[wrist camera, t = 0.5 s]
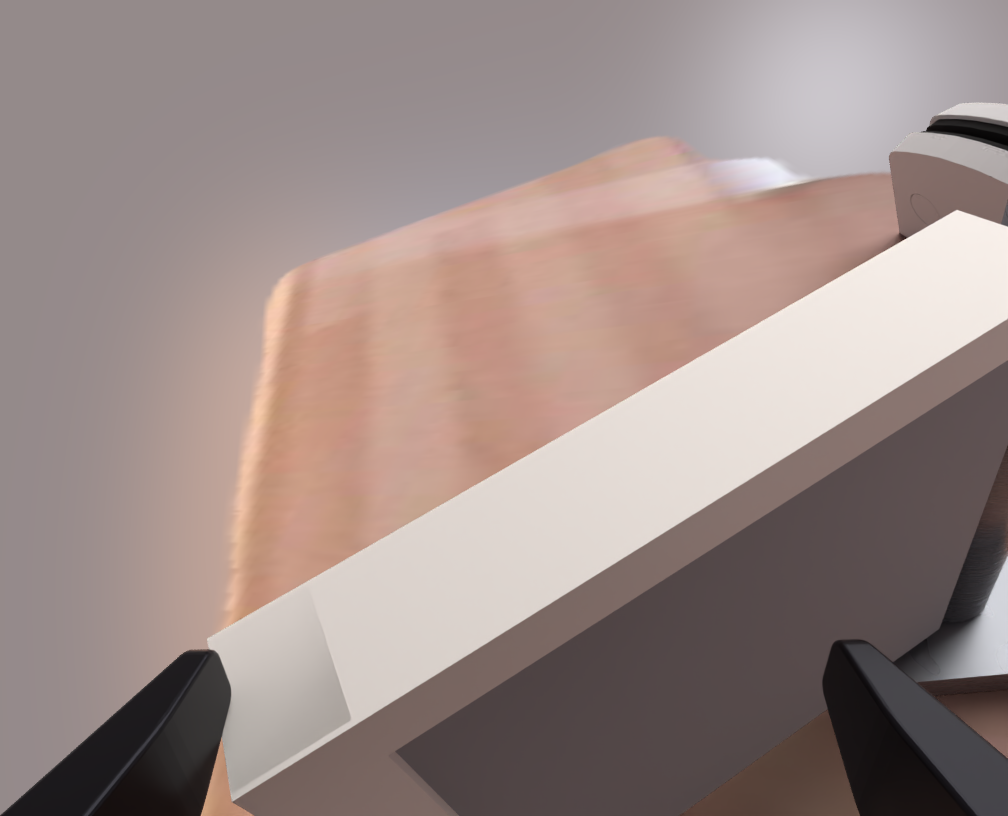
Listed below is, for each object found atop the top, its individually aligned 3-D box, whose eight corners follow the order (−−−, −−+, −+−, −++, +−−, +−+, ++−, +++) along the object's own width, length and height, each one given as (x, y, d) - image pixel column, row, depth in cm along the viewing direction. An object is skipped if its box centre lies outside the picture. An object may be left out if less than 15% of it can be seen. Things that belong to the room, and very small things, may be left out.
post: (1084, 682, 21) (1418, 241, 10) (880, 700, 22) (994, 317, 12) (987, 527, 25) (1151, 104, 15) (821, 548, 26) (863, 168, 16)
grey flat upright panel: (876, 576, 23) (957, 210, 14) (950, 638, 21) (1103, 258, 12) (462, 859, 20) (207, 638, 11) (502, 963, 18) (231, 802, 9)
